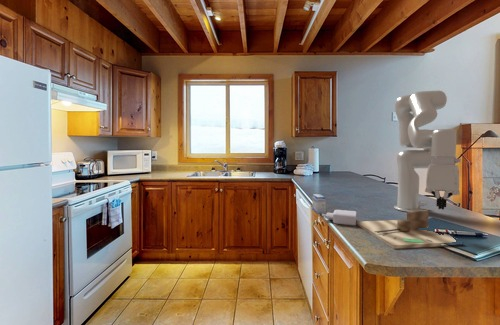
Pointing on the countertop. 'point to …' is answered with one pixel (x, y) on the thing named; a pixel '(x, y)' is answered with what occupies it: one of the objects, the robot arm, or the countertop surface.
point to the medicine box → (318, 204)
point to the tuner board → (404, 235)
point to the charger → (342, 217)
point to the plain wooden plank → (412, 221)
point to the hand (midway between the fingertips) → (441, 208)
